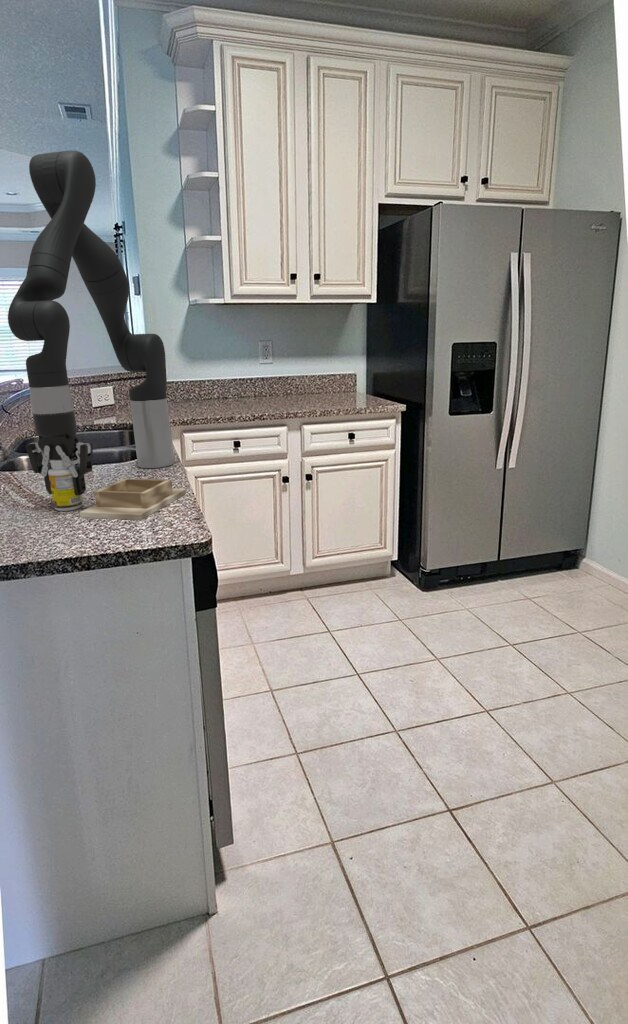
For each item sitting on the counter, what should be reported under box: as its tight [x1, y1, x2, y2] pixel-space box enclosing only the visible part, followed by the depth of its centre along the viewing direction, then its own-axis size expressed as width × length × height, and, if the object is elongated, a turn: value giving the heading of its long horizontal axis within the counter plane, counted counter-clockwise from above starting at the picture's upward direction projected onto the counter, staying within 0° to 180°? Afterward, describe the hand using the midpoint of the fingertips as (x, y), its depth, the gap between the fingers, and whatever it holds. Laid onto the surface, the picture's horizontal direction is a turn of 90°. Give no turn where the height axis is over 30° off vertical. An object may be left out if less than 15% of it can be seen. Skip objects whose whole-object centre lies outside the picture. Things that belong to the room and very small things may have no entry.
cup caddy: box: [79, 478, 187, 521], centre depth 124 cm, size 19×13×4 cm
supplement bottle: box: [48, 459, 84, 512], centre depth 123 cm, size 6×6×10 cm
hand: (66, 493), depth 124 cm, fingers closed on supplement bottle, 5 cm apart
